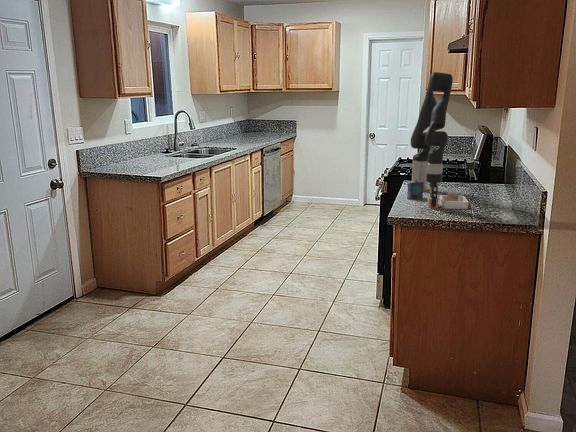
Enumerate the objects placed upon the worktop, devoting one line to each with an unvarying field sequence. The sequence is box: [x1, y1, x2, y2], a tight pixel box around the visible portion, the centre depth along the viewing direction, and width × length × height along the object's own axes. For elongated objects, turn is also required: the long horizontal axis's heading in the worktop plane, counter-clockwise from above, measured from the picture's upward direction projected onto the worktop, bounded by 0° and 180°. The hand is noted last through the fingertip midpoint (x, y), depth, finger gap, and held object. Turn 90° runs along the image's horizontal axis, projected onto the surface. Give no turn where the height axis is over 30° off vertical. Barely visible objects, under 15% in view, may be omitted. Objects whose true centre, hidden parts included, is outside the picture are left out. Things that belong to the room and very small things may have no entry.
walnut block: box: [447, 191, 459, 201], centre depth 256 cm, size 4×4×4 cm
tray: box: [438, 194, 469, 210], centre depth 253 cm, size 15×12×4 cm
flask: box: [406, 178, 424, 200], centre depth 270 cm, size 9×3×11 cm, turn 109°
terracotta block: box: [427, 196, 439, 209], centre depth 251 cm, size 4×4×4 cm
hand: (432, 205), depth 251 cm, fingers open, 7 cm apart
